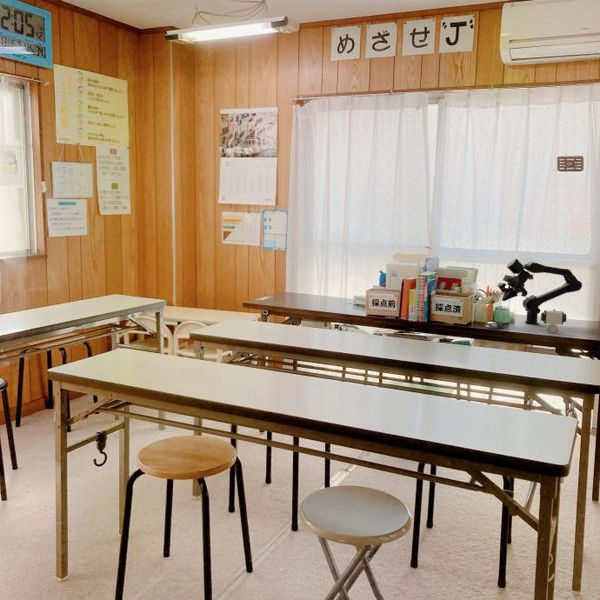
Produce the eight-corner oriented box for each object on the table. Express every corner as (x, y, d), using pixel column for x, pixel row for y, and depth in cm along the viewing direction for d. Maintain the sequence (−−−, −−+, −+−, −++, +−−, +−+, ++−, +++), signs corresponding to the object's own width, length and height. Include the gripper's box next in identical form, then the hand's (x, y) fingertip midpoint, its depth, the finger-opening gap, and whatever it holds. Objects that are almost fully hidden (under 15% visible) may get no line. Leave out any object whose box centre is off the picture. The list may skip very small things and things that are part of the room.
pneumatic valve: (565, 333, 317) (567, 310, 315) (540, 332, 320) (542, 309, 318) (563, 331, 322) (565, 308, 320) (539, 330, 325) (541, 307, 323)
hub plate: (484, 326, 334) (484, 324, 333) (497, 326, 333) (497, 324, 333) (486, 328, 327) (486, 326, 327) (500, 329, 326) (500, 327, 326)
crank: (498, 328, 326) (499, 307, 324) (489, 328, 326) (490, 307, 325) (491, 324, 339) (493, 303, 337) (483, 323, 339) (485, 303, 337)
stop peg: (496, 327, 331) (497, 322, 331) (502, 327, 331) (503, 322, 331) (497, 328, 328) (498, 323, 328) (503, 328, 328) (504, 323, 328)
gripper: (501, 268, 347) (483, 288, 344) (524, 271, 329) (506, 292, 327) (511, 281, 351) (494, 301, 348) (535, 285, 334) (517, 307, 331)
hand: (502, 300), depth 338 cm, fingers closed
